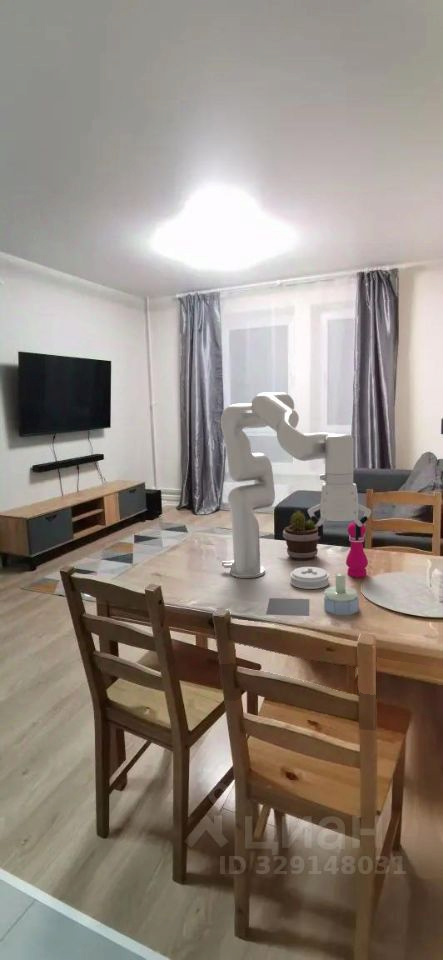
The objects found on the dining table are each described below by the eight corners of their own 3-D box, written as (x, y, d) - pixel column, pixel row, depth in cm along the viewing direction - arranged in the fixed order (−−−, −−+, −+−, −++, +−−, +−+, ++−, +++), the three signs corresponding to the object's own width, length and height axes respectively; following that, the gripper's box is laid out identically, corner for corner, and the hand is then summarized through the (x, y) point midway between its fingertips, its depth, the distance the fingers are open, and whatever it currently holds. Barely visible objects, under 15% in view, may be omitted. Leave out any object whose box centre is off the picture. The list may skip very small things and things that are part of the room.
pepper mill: (368, 578, 163) (368, 520, 160) (346, 577, 165) (345, 520, 162) (366, 571, 170) (366, 515, 167) (345, 571, 172) (344, 515, 169)
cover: (325, 601, 135) (324, 580, 135) (323, 589, 144) (323, 569, 143) (358, 602, 134) (358, 580, 133) (355, 590, 143) (355, 569, 142)
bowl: (324, 615, 136) (324, 601, 135) (324, 602, 145) (323, 589, 144) (359, 616, 134) (359, 602, 134) (356, 603, 143) (356, 590, 143)
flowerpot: (293, 549, 201) (292, 502, 198) (328, 554, 192) (327, 504, 189) (275, 559, 189) (274, 508, 186) (312, 564, 180) (311, 511, 177)
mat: (266, 615, 138) (266, 614, 138) (269, 599, 149) (269, 598, 149) (309, 616, 135) (309, 615, 135) (309, 600, 147) (309, 599, 147)
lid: (282, 585, 161) (282, 571, 160) (305, 575, 170) (305, 561, 169) (314, 594, 152) (313, 579, 151) (336, 583, 161) (336, 569, 160)
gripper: (307, 481, 132) (307, 542, 135) (373, 481, 129) (372, 543, 132) (307, 477, 140) (307, 535, 142) (370, 476, 136) (369, 535, 139)
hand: (339, 539), depth 137 cm, fingers open, 9 cm apart
